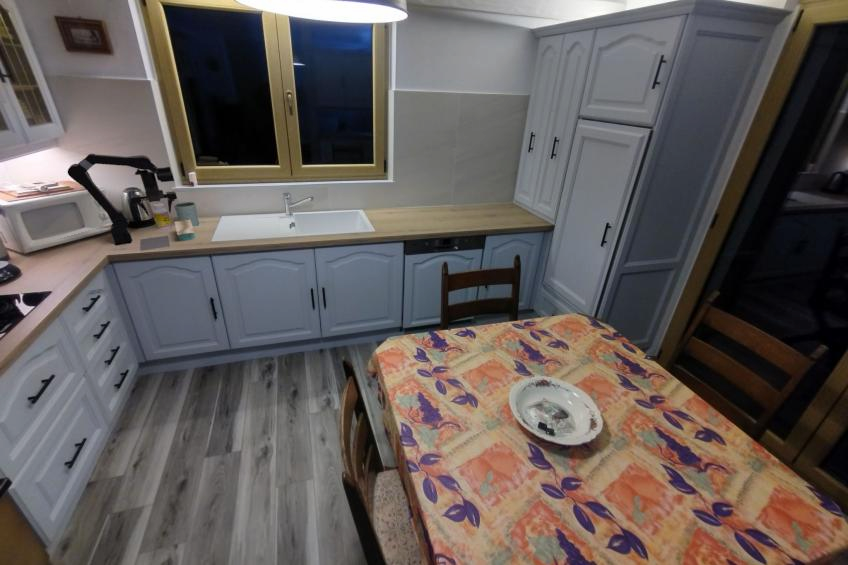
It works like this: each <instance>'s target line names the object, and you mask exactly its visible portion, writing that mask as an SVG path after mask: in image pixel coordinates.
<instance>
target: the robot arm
mask: <svg viewBox="0 0 848 565" xmlns="http://www.w3.org/2000/svg"><path fill="white" fill-rule="evenodd" d="M96 164H97V165H109V166H121V167H122V166H125V167H126V166H127V167H129V168H134V169H136V171H135V172H134V174H135V176H140V178H141V182H142V184H143V188H144V189H143V190H144V192H145V193H144V194H145V195H144V196H141V194H136V195H134V194H133V195H131V196H130V201H131V204H133V205H135V206H139V207H140V208H141V209H142V210H143V211H144V213H145V214H146V215H147V216H148V217H149V216H150V214H149V211H148V208H147V206H146V205H145V202H144V201H148V202H150V203H153V202H161V199H167V200H166V201H167V205H168V212H169V214H171V213H172V204H173V202H174V201H175V200H177V199H178V195H177V193H176V192H175V191H166V192H165V194H164V191H163V189H161V190H160V187H159V184H158V181H159V182H160V183H166V182H169V183H170V182H175V178H174V174H173V172H172V170H171V166H165V167H158V166H156V165H155V164H154V163H153V162H152V160H151V159H150V158H149V157H148V156H147V155H129V156H121V155H108V154H107V155H106V154H95V153H88V155H87V156H86V157H85V158H83V159H82V160H80V161H79V162H78V163H73V164H71V165H70V166H69V168H68V169H67V175H68V176H69V177H70V178H71V179H72V180H73V181H74V182H76V183H78V184H79V185H80V186H82V187H83V188H84V189H85V190H86V191H87V192H88V193H89V195H90V196H92V198H93V199H94V200H95V201H96V202H97V204H98V205H99V206H100V207H101V208H102V209H103V210H104V212H105V213H106V214H107V215H108V217H109V219H110V221H111V223H112V224H111V225H110V231H109V232H110V233H111V236H112V239H113V240H114V246H115V247H117V246H122V245H123V246H124V245H127V244H128V245H129V244H132V241H133V238H132V234H131V232H130V231H129V230H128V229H127V228H128V227H129V224H130V219H129V214H128V215H127V213H126V212H125V210H124V209H120V210H119V209H118V208H116V207H115V205H113V203H112V202H111V201H110V199H108V198H107V196H106V195H105V194H104V193H103V192H102V191H101V189H100V188H99V187H98V186H97V185H96V184H95V182H94V181H93V179H92V176H91V175H90V173H89V172H88V171H89V170H90V169H91V168H92V167H93V166H94V165H96Z"/></svg>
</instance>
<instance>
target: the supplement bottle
mask: <svg viewBox="0 0 848 565" xmlns="http://www.w3.org/2000/svg"><path fill="white" fill-rule="evenodd" d="M152 206H153V210H152V214H153V217H154V221H155V223H156V224H155V225H156V227H157V229H158V230H165V229H170V228H172V222H171V218H170V216H169V213H168V212H169V210H168V209H166V208H165V205H164V203H154V204H153V205H152Z"/></svg>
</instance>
